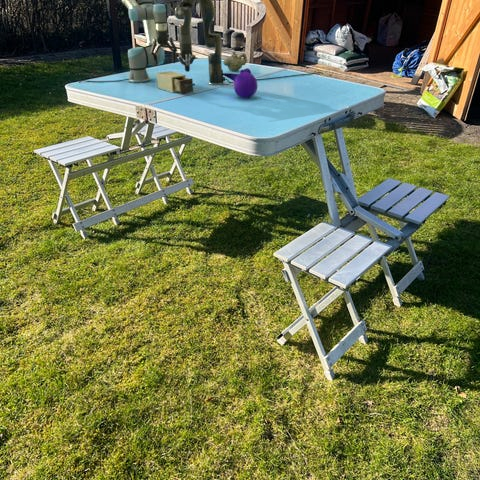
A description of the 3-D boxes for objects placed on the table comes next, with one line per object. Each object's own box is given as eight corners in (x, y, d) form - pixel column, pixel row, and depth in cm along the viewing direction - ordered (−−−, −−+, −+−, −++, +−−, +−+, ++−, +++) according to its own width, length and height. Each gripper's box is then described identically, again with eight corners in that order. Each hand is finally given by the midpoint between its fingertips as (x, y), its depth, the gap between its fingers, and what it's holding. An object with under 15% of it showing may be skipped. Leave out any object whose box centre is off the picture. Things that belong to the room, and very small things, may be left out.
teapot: (227, 73, 359) (226, 53, 351) (220, 71, 367) (219, 51, 360) (250, 70, 368) (249, 51, 360) (242, 68, 376) (242, 49, 369)
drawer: (197, 92, 298) (196, 79, 294) (185, 94, 293) (184, 81, 289) (178, 86, 314) (177, 74, 310) (166, 88, 309) (165, 76, 305)
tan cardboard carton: (186, 90, 309) (185, 74, 304) (172, 92, 303) (171, 77, 298) (171, 85, 323) (170, 71, 317) (158, 88, 317) (156, 73, 312)
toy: (243, 90, 304) (257, 103, 283) (218, 85, 297) (231, 99, 276) (249, 66, 296) (264, 78, 275) (224, 61, 289) (238, 73, 268)
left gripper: (147, 32, 290) (151, 67, 300) (180, 29, 303) (183, 62, 313) (142, 31, 295) (146, 65, 305) (175, 28, 308) (177, 61, 319)
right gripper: (179, 43, 275) (181, 73, 284) (197, 42, 282) (199, 70, 291) (173, 42, 280) (175, 72, 289) (191, 41, 287) (193, 69, 296)
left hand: (165, 64), depth 309 cm, fingers open, 13 cm apart
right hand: (187, 71), depth 290 cm, fingers closed
